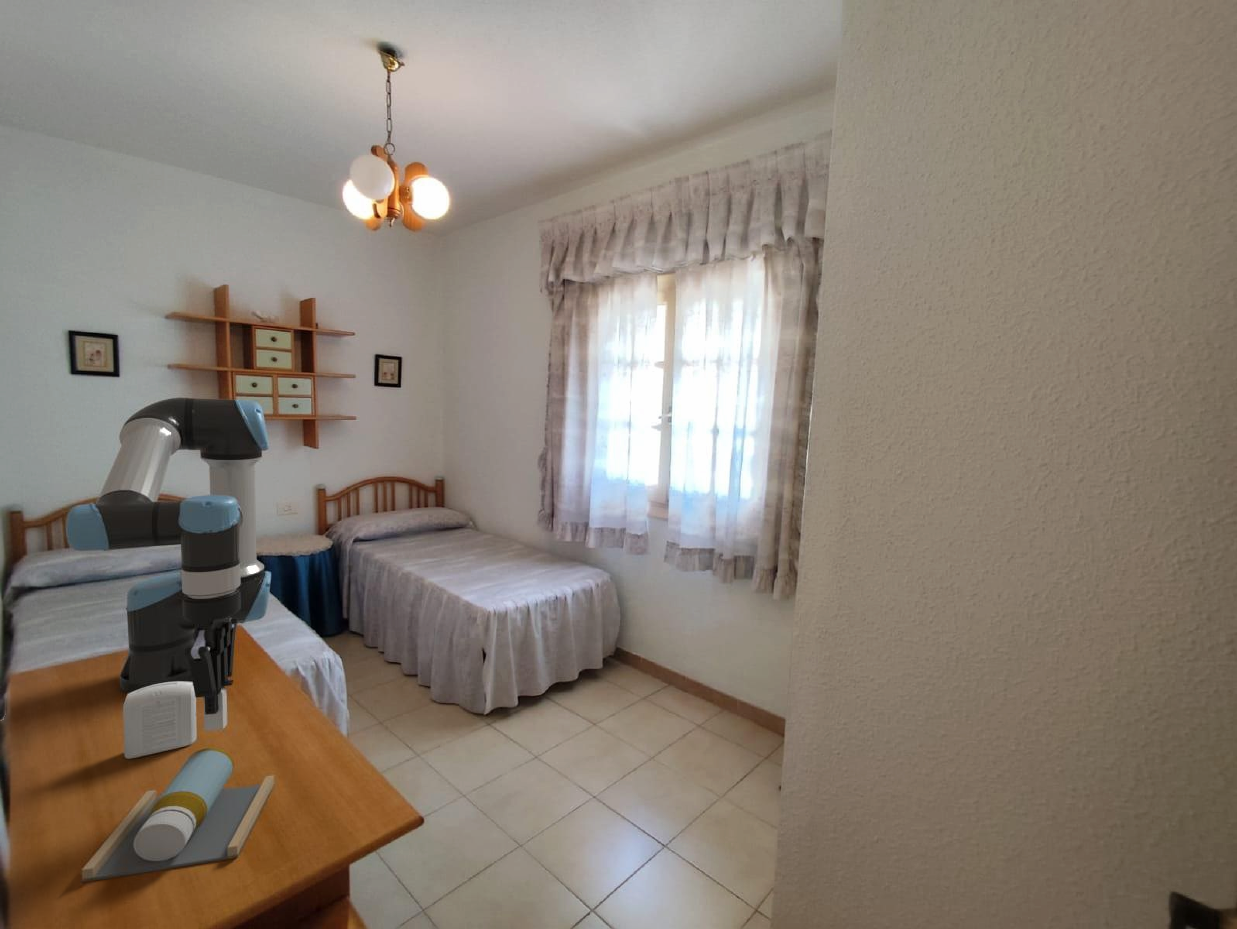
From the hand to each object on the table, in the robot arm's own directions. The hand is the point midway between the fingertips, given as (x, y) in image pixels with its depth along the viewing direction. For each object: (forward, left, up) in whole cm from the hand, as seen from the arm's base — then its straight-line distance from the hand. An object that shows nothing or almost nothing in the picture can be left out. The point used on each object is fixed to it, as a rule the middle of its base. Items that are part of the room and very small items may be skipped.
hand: (215, 727), depth 88 cm
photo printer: (-13, -14, -11) cm, 22 cm away
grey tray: (+9, 0, -11) cm, 14 cm away
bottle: (+1, 0, -6) cm, 6 cm away
